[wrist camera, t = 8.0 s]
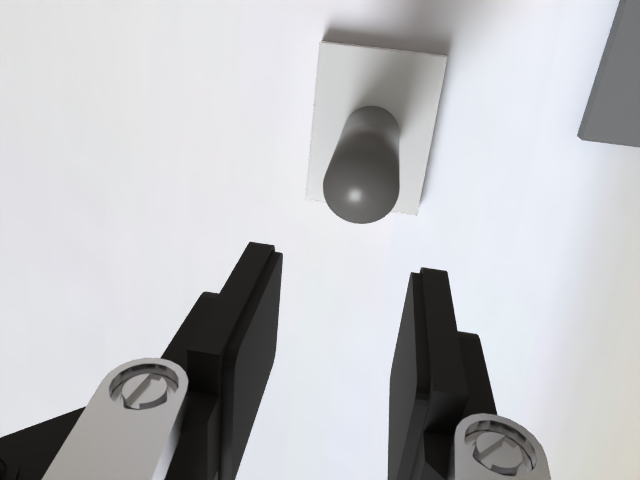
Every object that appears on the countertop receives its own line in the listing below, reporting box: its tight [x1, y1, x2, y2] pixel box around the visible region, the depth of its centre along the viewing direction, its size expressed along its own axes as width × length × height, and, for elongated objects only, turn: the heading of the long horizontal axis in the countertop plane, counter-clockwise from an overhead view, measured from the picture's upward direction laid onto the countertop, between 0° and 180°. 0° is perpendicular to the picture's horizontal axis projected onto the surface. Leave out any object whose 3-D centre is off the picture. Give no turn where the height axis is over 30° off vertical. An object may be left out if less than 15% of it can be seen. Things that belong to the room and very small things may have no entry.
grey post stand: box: [305, 41, 448, 224], centre depth 23 cm, size 8×6×9 cm
